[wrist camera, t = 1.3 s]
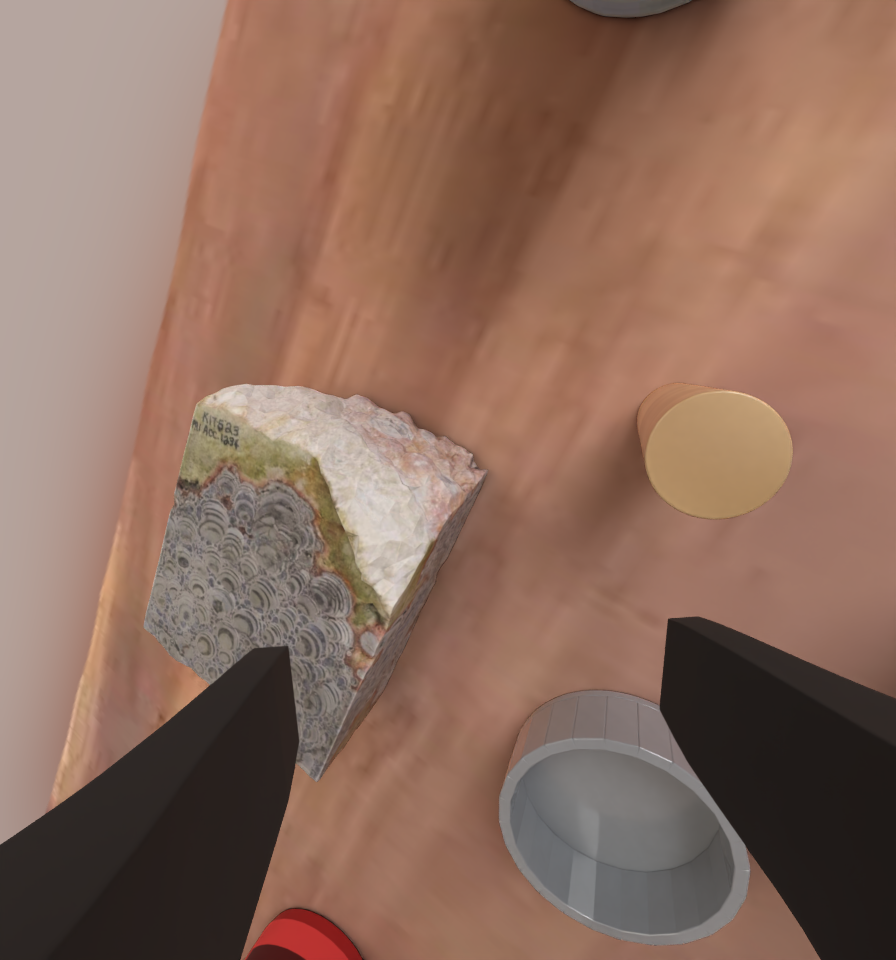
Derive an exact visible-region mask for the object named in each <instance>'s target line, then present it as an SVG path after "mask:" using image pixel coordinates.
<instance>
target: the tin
mask: <svg viewBox="0 0 896 960" xmlns="http://www.w3.org/2000/svg"><path fill="white" fill-rule="evenodd" d="M659 709H660V706H659V705H657V704H655V703H653V702H650V701H648V700H645V699H642V698H640V697H637V696H633V695H629V694H625V693H621V692H614V691H606V690H588V691H578V692H573V693H569V694H565V695H562V696H559V697H557V698H554V699H552V700H550V701H549V702H547V703H545V704H543V705H542V706H541V707H539V708H538V709H537V710H535V711H534V712H533V713H532V715H531V716H530V717H529V718H528V719H527V720H526V722H525V723H524V725H523V726H522V728H521V730H520V732H519V735H518V737H517V740H516V743H515V746H514V749H513V752H512V755H511V758H510V762H509V765H508V768H507V772H506V775H505V778H504V782H503V785H502V788H501V791H500V795H499V824H500V827H501V831H502V835H503V838H504V842H505V845H506V847H507V849H508V851H509V853H510V854H511V856H512V858H513V860H514V862H515V864H516V865H517V867H518V869H519V870H520V872H521V873H522V874H523V875H524V876H525V878H526V879H527V880H528V881H529V882H530V883H531V885H532V886H533V887H534V888H535V889H536V891H537V892H539V894H541V895H542V896H543V897H544V898H545V899H547V900H548V901H549V902H550V903H551V904H553V905H554V906H555V907H556V908H557V909H559V910H560V911H561V912H563V913H564V914H566V915H567V916H569V917H571V918H573V919H574V920H576V921H578V922H580V923H581V924H583V925H585V926H587V927H588V928H591V929H592V930H595V931H597V932H600V933H603V934H606V935H608V936H611V937H614V938H616V939H619V940H621V939H622V940H623V941H629V942H635V943H641V944H647V945H654V946H657V945H679V944H683V943H684V944H686V943H689V942H692V941H695V940H699V939H702V938H705V937H708V936H710V935H713V934H714V933H715V932H717V931H718V930H720V929H721V928H722V927H724V926H725V925H726V924H728V923H729V922H731V921H732V919H733V918H734V917H735V915H736V914H737V912H738V910H739V909H740V907H741V906H742V904H743V902H744V901H745V899H746V896H747V891H748V884H749V878H750V872H751V871H750V864H749V859H748V854H747V849H746V846H745V844H744V843H743V841H742V840H741V839H740V837H739V836H738V834H737V833H736V831H735V830H734V829H733V827H732V826H731V824H730V823H729V821H728V820H727V819H726V817H725V816H724V814H723V813H722V812H721V810H720V809H719V807H718V806H717V804H716V803H715V802H714V800H713V799H712V797H711V796H710V794H709V793H708V791H707V790H706V789H705V787H704V786H703V784H702V783H701V781H700V780H699V778H698V777H697V775H696V774H695V773H694V771H693V770H692V768H691V767H690V765H689V764H688V762H687V760H686V759H685V757H684V755H683V753H682V751H681V750H680V748H679V746H678V744H677V742H676V741H675V739H674V737H673V735H672V733H671V731H670V729H669V727H668V725H667V723H666V721H665V719H664V717H663V716H662V714H661V712H660V710H659Z"/></svg>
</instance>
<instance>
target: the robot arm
mask: <svg viewBox="0 0 896 960" xmlns="http://www.w3.org/2000/svg"><path fill="white" fill-rule="evenodd" d="M659 710H660V712H661V714H662V716H663V717H664V719H665V721H666V723H667V725H668V727H669V729H670V731H671V733H672V735H673V737H674V739H675V741H676V742H677V744H678V746H679V748H680V750H681V751H682V753H683V755H684V757H685V759H686V760H687V762H688V764H689V765H690V767H691V768H692V770H693V771H694V773H695V774H696V775H697V777H698V778H699V780H700V781H701V783H702V784H703V786H704V787H705V789H706V790H707V791H708V793H709V794H710V796H711V797H712V799H713V800H714V802H715V803H716V804H717V806H718V807H719V809H720V810H721V812H722V813H723V814H724V816H725V817H726V819H727V820H728V821H729V823H730V824H731V826H732V827H733V829H734V830H735V831H736V833H737V834H738V836H739V837H740V839H741V840H742V841H743V843H744V844H745V846H746V847H747V848H748V850H749V851H750V853H751V854H752V856H753V857H754V858H755V860H756V861H757V863H758V864H759V866H760V867H761V868H762V870H763V871H764V873H765V874H766V876H767V877H768V878H769V880H770V881H771V883H772V884H773V885H774V887H775V888H776V890H777V891H778V893H779V894H780V895H781V897H782V898H783V900H784V902H785V903H786V905H787V906H788V908H789V909H790V911H791V912H792V914H793V915H794V917H795V918H796V920H797V921H798V923H799V924H800V926H801V927H802V929H803V930H804V932H805V934H806V935H807V937H808V939H809V940H810V942H811V944H812V945H813V947H814V949H815V951H816V952H817V954H818V956H819V957H820V959H821V960H896V699H895V698H893V697H890V696H888V695H885V694H883V693H880V692H878V691H875V690H873V689H870V688H868V687H865V686H863V685H860V684H858V683H856V682H853V681H851V680H848V679H846V678H844V677H841V676H839V675H837V674H834V673H832V672H830V671H827V670H825V669H823V668H820V667H818V666H816V665H813V664H811V663H809V662H807V661H804V660H802V659H800V658H797V657H795V656H793V655H791V654H788V653H786V652H784V651H782V650H779V649H777V648H775V647H772V646H770V645H768V644H766V643H763V642H761V641H759V640H757V639H754V638H752V637H750V636H747V635H745V634H743V633H740V632H738V631H736V630H733V629H731V628H728V627H726V626H723V625H721V624H718V623H716V622H713V621H710V620H707V619H704V618H701V617H685V618H670V619H668V625H667V635H666V646H665V656H664V667H663V677H662V688H661V698H660V709H659ZM298 746H299V733H298V724H297V716H296V707H295V699H294V690H293V681H292V673H291V664H290V655H289V647H288V646H277V647H263V648H254V649H252V650H251V651H250V652H248V653H247V654H246V655H245V656H243V657H242V658H241V659H240V660H239V661H238V662H236V663H235V664H234V665H233V666H232V667H231V668H229V669H228V670H227V671H226V672H225V673H224V674H222V675H221V676H220V677H219V678H218V679H217V680H216V681H214V682H213V683H212V684H211V685H210V686H209V687H208V688H206V689H205V690H204V691H203V692H202V693H201V694H199V695H198V696H197V697H196V698H195V699H194V700H192V701H191V702H190V703H189V704H188V705H186V706H185V707H184V708H183V709H182V710H181V711H179V712H178V713H177V714H176V715H175V716H174V717H172V718H171V719H170V720H169V721H168V722H166V723H165V724H164V725H163V726H162V727H160V728H159V729H158V730H156V731H155V732H154V733H153V734H151V735H150V736H149V737H148V738H146V739H145V740H144V741H143V742H141V743H140V744H139V745H137V746H136V747H135V748H134V749H132V750H131V751H130V752H129V753H127V754H126V755H125V756H123V757H122V758H121V759H120V760H118V761H117V762H116V763H115V764H113V765H112V766H111V767H110V768H108V769H107V770H106V771H104V772H103V773H102V774H101V775H99V776H98V777H97V778H95V779H94V780H93V781H91V782H90V783H88V784H87V785H86V786H84V787H83V788H82V789H80V790H79V791H78V792H76V793H75V794H73V795H72V796H71V797H69V798H68V799H66V800H65V801H64V802H62V803H61V804H59V805H58V806H57V807H55V808H54V809H52V810H51V811H49V812H48V813H46V814H45V815H43V816H42V817H41V818H39V819H38V820H36V821H35V822H33V823H32V824H30V825H29V826H28V827H26V828H24V829H23V830H22V831H20V832H19V833H17V834H16V835H14V836H13V837H11V838H10V839H8V840H7V841H5V842H4V843H2V844H1V845H0V960H240V959H241V956H242V952H243V949H244V946H245V942H246V939H247V936H248V933H249V929H250V926H251V923H252V919H253V916H254V913H255V910H256V906H257V903H258V900H259V897H260V893H261V890H262V887H263V883H264V880H265V877H266V874H267V870H268V867H269V864H270V861H271V857H272V854H273V851H274V847H275V844H276V841H277V837H278V834H279V831H280V827H281V824H282V821H283V817H284V814H285V810H286V807H287V803H288V800H289V795H290V790H291V785H292V779H293V774H294V769H295V763H296V758H297V752H298Z"/></svg>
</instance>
